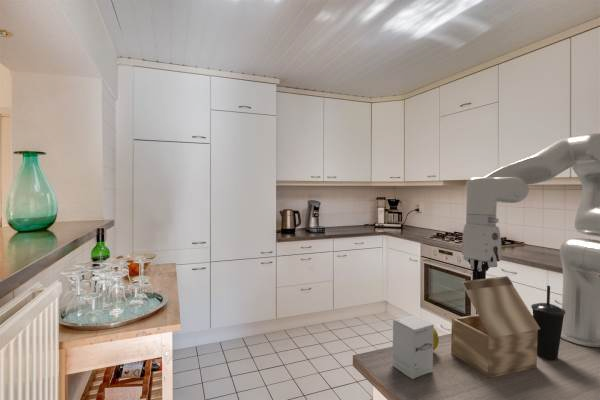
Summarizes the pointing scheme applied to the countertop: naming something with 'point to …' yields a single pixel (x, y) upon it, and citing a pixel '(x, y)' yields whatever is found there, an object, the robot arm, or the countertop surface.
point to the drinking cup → (548, 328)
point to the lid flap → (499, 306)
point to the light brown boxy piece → (492, 348)
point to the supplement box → (413, 346)
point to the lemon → (435, 339)
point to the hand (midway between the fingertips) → (478, 283)
